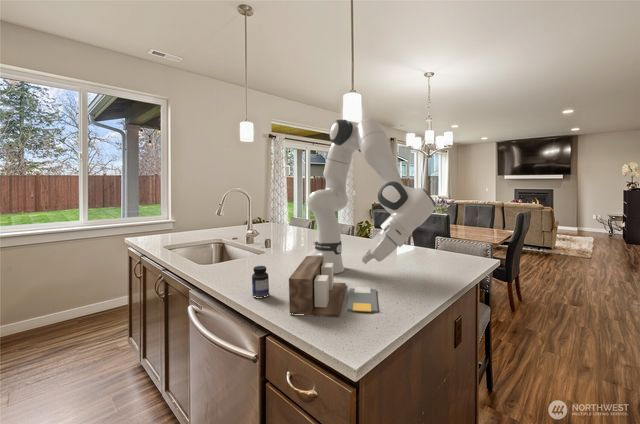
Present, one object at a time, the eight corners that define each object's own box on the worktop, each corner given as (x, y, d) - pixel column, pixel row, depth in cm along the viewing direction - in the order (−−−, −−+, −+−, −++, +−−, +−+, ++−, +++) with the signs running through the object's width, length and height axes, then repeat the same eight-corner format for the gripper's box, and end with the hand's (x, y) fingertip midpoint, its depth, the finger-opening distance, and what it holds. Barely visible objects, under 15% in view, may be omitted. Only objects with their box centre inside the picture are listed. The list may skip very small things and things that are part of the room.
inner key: (333, 285, 121) (333, 263, 120) (331, 290, 115) (331, 267, 114) (323, 284, 122) (323, 262, 121) (321, 290, 116) (321, 267, 115)
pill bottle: (253, 293, 117) (252, 265, 116) (269, 292, 118) (268, 264, 117) (251, 299, 111) (250, 270, 110) (268, 298, 112) (267, 269, 111)
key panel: (345, 285, 125) (345, 256, 123) (339, 317, 95) (338, 280, 94) (307, 283, 127) (306, 255, 126) (289, 314, 98) (288, 278, 96)
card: (375, 289, 119) (375, 287, 119) (377, 313, 97) (377, 311, 97) (349, 288, 120) (349, 286, 120) (346, 312, 99) (346, 309, 99)
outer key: (328, 300, 106) (328, 275, 105) (326, 307, 100) (326, 280, 99) (317, 300, 106) (317, 274, 105) (314, 307, 100) (314, 280, 99)
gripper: (384, 221, 108) (357, 248, 110) (389, 229, 88) (355, 262, 90) (397, 233, 108) (369, 260, 110) (405, 244, 88) (371, 277, 90)
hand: (363, 261), depth 100 cm, fingers closed
